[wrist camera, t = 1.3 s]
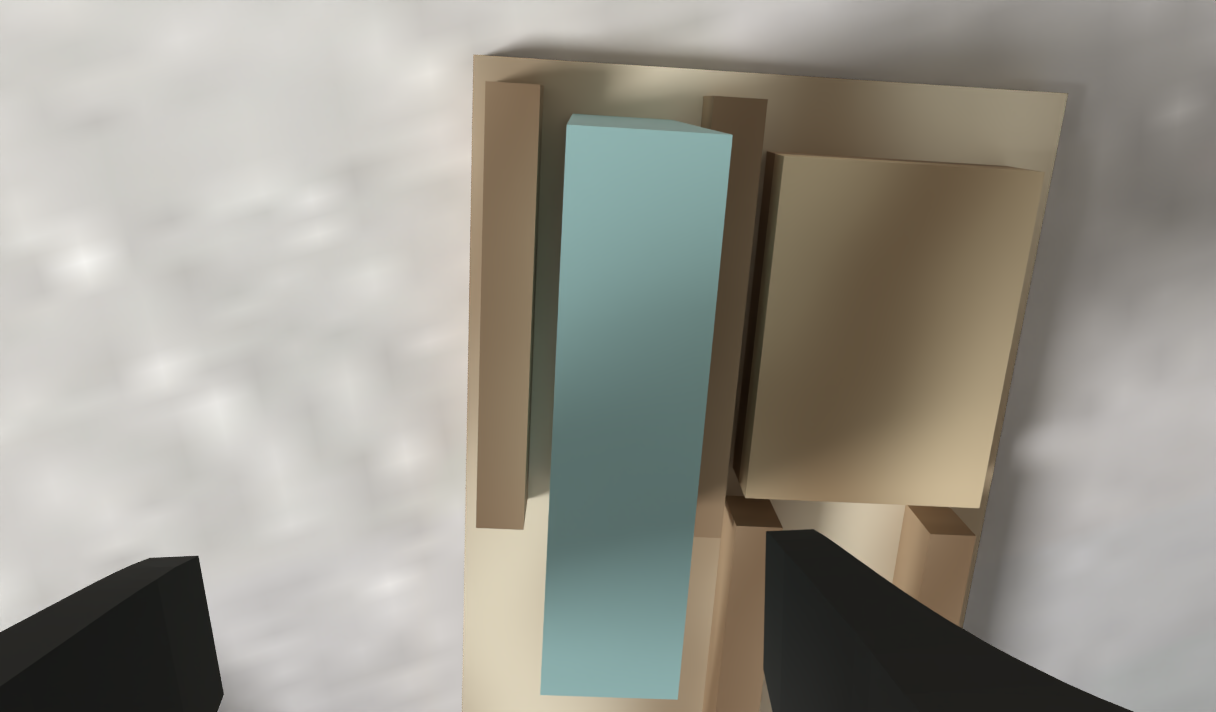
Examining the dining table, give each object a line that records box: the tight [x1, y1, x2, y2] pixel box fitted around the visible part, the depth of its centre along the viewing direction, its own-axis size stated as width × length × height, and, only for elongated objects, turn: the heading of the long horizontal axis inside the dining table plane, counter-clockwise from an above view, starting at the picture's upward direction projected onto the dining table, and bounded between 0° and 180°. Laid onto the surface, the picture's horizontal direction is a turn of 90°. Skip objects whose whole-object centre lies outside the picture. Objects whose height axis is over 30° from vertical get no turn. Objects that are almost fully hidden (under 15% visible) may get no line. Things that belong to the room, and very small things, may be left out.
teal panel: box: [540, 114, 733, 700], centre depth 15 cm, size 2×8×8 cm, turn 177°
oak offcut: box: [739, 154, 1045, 508], centre depth 18 cm, size 5×7×1 cm
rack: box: [462, 55, 1068, 712], centre depth 20 cm, size 12×19×2 cm, turn 176°
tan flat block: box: [733, 151, 1023, 482], centre depth 19 cm, size 5×7×1 cm
